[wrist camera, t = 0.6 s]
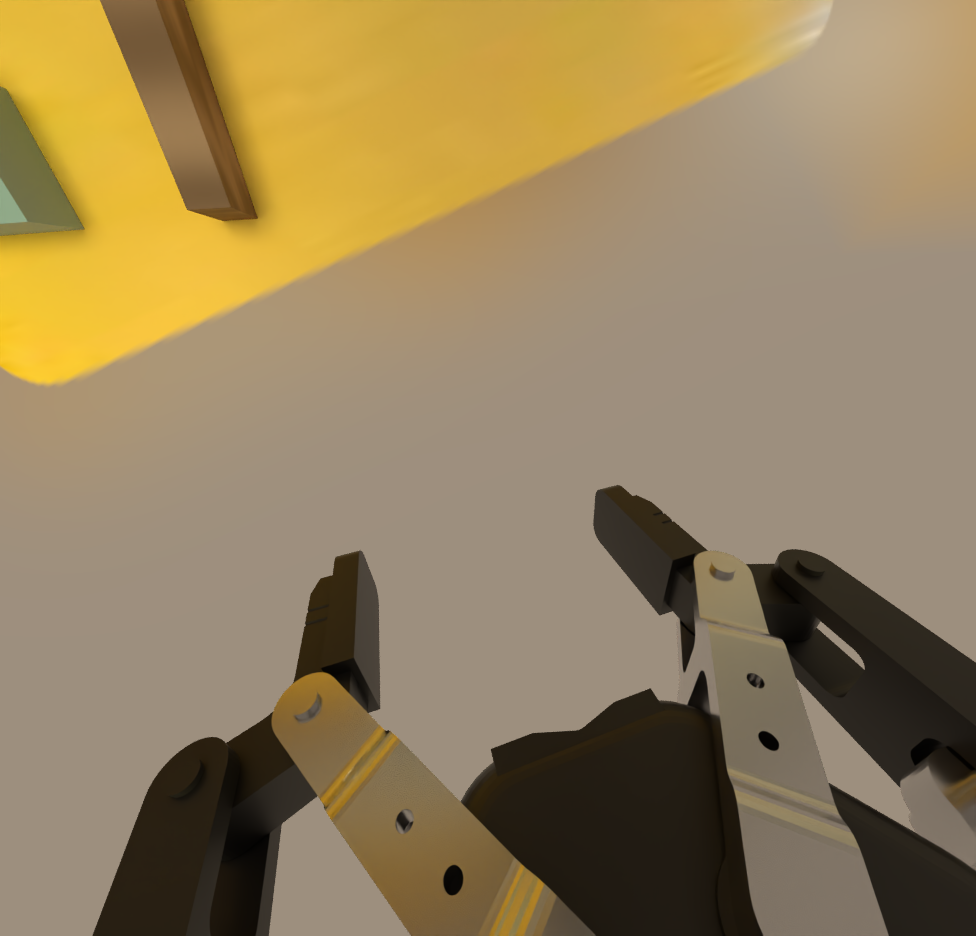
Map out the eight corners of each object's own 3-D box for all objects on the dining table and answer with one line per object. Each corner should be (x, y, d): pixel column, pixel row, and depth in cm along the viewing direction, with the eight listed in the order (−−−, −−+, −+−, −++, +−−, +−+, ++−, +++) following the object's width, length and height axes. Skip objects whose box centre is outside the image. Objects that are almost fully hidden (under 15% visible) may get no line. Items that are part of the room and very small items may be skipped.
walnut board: (105, -90, 19) (11, -214, 14) (154, -85, 20) (80, -205, 15) (222, 220, 27) (187, 209, 22) (257, 218, 27) (230, 207, 22)
